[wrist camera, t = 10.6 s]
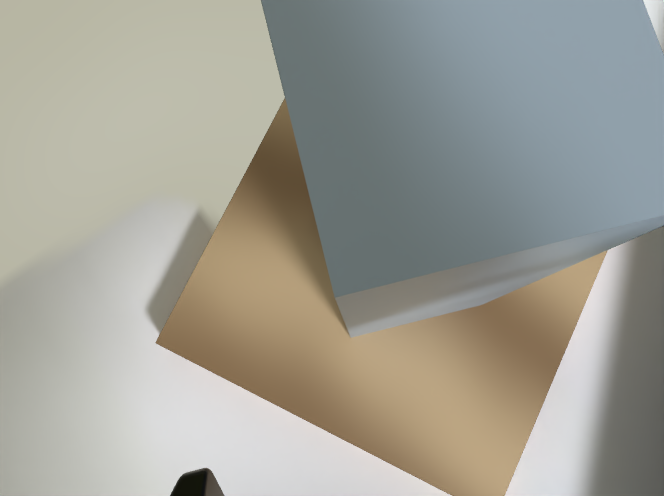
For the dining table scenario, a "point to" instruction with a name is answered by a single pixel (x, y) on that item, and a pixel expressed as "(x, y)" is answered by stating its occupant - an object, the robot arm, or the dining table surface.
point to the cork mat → (370, 340)
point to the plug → (469, 142)
